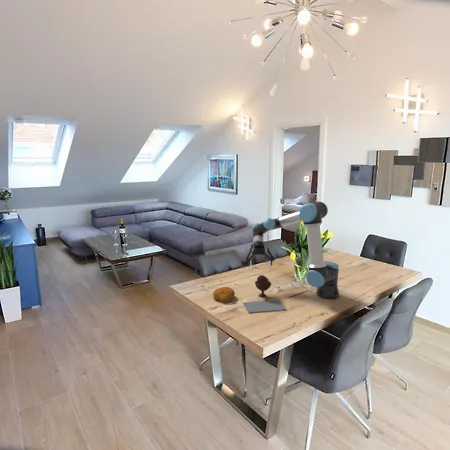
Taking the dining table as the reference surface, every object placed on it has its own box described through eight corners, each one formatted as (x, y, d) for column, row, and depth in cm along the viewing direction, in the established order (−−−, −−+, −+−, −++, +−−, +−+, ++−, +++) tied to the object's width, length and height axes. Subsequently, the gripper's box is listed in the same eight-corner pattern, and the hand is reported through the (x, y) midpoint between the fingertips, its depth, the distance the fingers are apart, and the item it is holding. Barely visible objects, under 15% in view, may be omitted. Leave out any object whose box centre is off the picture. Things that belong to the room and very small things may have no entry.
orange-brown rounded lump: (236, 297, 230) (237, 286, 229) (231, 304, 215) (232, 292, 214) (215, 295, 233) (216, 283, 232) (209, 301, 218) (210, 289, 217)
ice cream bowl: (270, 300, 221) (271, 278, 218) (253, 298, 223) (254, 277, 220) (271, 293, 231) (272, 273, 228) (255, 292, 233) (255, 271, 230)
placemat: (278, 300, 220) (278, 299, 220) (286, 310, 207) (286, 309, 207) (243, 303, 216) (243, 302, 216) (248, 313, 202) (248, 312, 202)
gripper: (274, 245, 248) (277, 271, 237) (241, 245, 248) (242, 271, 236) (276, 240, 242) (279, 267, 231) (242, 240, 241) (243, 267, 230)
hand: (260, 269), depth 233 cm, fingers open, 13 cm apart
